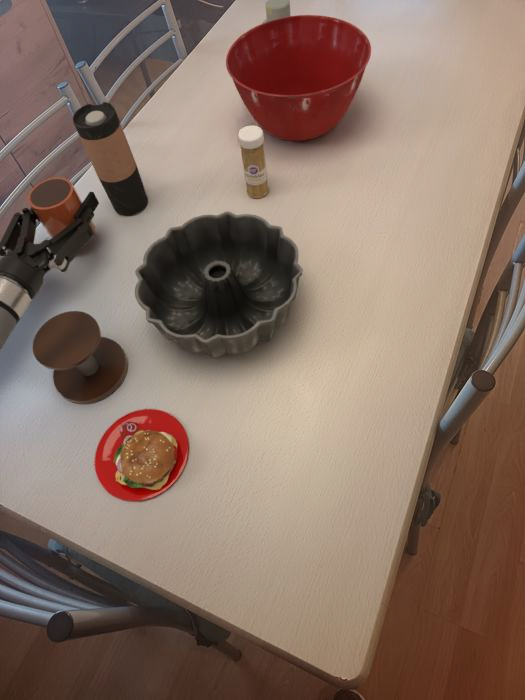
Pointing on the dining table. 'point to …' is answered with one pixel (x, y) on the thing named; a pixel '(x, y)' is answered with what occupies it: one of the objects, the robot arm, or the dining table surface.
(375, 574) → the dining table surface
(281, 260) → the bundt pan
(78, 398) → the wooden pedestal stand
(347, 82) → the mixing bowl
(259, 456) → the dining table surface
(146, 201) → the travel mug
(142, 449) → the hamburger
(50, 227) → the tumbler
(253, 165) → the sprinkles bottle
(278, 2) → the air freshener
